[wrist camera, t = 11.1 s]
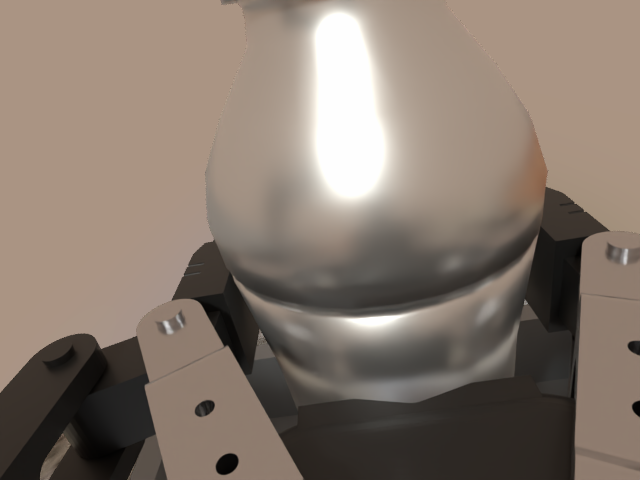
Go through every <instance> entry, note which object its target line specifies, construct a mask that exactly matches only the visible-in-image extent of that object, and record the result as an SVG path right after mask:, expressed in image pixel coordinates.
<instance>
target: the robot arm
mask: <svg viewBox="0 0 640 480" xmlns="http://www.w3.org/2000/svg"><path fill="white" fill-rule="evenodd" d="M188 266H189V267H187V269H186V271H185V273H184V277H182V279H181V281H180V284H179V286H178V288H177V290H176V292H175V294H174V296H173V298H172V301H170V302H167V303H164V304H162V305H160V306H158V307H156V308H154V309H153V310H152V311H150V312H149V313H147V314H146V315H145V316H144V317H143V318H142V320H141V321H140V322H139V324H138V326H137V329H136V332H137V336H136V337H133V338H131V339H128V340H125V341H123V342H120V343H117V344H114V345H111V346H109V347H106V348H103V349H101V348H100V346H99V345H98V343H97V341H96V339H95V338H94V337H93V336H92V335H89V334H75V335H70V336H67V337H64V338H62V339H59V340H57V341H55V342H53V343H51V344H49V345H48V346H46V347H45V348H43V349H42V350H40V351H39V352H38V353H36V354H35V355H34V356H33V357H32V358H31V359H30V360H29V361H28V363H27V364H26V365H25V366H24V367H23V368H22V369H21V370H20V371H19V373H18V374H17V375H16V376H15V377H14V378H13V379H12V380H11V381H10V383H9V384H8V385H7V386H6V387H5V388H4V389H3V391H2V392H1V393H0V480H40V471H41V467H42V464H43V462H44V460H45V458H46V457H47V455H48V454H49V452H50V451H51V449H52V448H53V446H54V445H55V443H56V442H57V440H58V439H59V437H60V436H61V434H62V433H63V434H64V435H65V436H66V438H67V439H68V441H69V442H70V444H71V446H70V448H69V449H68V451H67V452H66V454H65V455H64V457H63V459H62V460H61V462H60V463H59V465H58V466H57V468H56V469H55V471H54V473H53V474H52V476H51V477H50V479H49V480H127V479H128V477H129V475H130V473H131V470H132V468H133V466H134V464H135V462H136V460H137V458H138V456H139V454H140V452H141V450H142V448H143V445H144V443H145V440H146V438H149V437H151V436H153V435H156V436H157V440H158V444H159V448H160V452H161V456H162V460H163V464H164V468H165V472H166V476H167V480H640V234H637V233H632V232H624V231H609V230H608V229H607V228H606V227H604V226H603V225H602V224H601V223H599V222H598V221H597V220H596V219H594V218H593V217H592V216H591V215H590V214H588V213H587V212H584V210H583V209H582V208H581V207H580V206H578V205H577V204H574V202H573V201H572V200H571V199H570V198H568V197H567V196H566V195H565V194H563V193H561V192H559V191H556V190H553V189H550V188H547V187H546V188H545V197H544V207H543V216H542V221H541V226H540V231H539V233H538V238H537V243H536V248H535V252H534V257H533V262H532V267H531V271H530V276H529V281H528V286H527V290H526V295H525V300H526V301H527V303H528V304H529V305H530V307H531V308H532V310H533V311H534V313H535V314H536V316H537V317H538V319H539V320H540V321H541V323H542V324H543V326H544V327H545V329H546V330H547V332H548V333H552V332H559V331H566V330H569V331H570V332H571V334H572V340H571V349H570V364H569V379H568V394H567V397H566V396H560V395H554V394H547V393H541V392H540V391H539V389H538V387H537V385H536V384H535V382H534V380H533V378H532V376H531V375H525V376H517V377H510V378H503V379H495V380H488V381H480V382H473V383H469V384H467V385H464V386H461V387H459V388H456V389H453V390H450V391H448V392H445V393H442V394H439V395H437V396H434V397H431V398H429V399H426V400H423V401H420V402H416V403H403V402H390V401H377V400H364V399H348V400H340V401H333V402H325V403H318V404H311V405H303V406H298V423H297V425H296V426H293V427H291V428H288V429H286V430H284V431H282V432H280V433H277V431H276V430H275V428H274V426H273V424H272V422H271V421H270V419H269V417H268V415H267V414H266V412H265V410H264V408H263V407H262V405H261V403H260V401H259V399H258V398H257V396H256V394H255V392H254V391H253V389H252V387H251V385H250V383H249V382H248V380H247V378H246V376H245V375H250V374H252V369H253V364H254V358H255V352H256V346H257V340H258V334H259V326H258V324H257V322H256V321H255V319H254V317H253V315H252V313H251V311H250V309H249V308H248V306H247V304H246V302H245V300H244V298H243V296H242V295H241V293H240V291H239V289H238V287H237V285H236V284H235V282H234V279H233V276H232V274H231V272H230V271H229V270H228V269H227V268H226V265H225V263H224V260H223V258H222V256H221V253H220V251H219V248H218V246H217V244H216V242H215V240H214V241H213V242H208V243H205V244H204V245H203V246H202V247H200V248H199V249H198V250H197V251H196V252H195V253H194V254H193V256H192V258H191V260H190V262H189V265H188Z"/></svg>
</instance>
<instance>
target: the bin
mask: <svg viewBox="0 0 640 480" xmlns="http://www.w3.org/2000/svg"><path fill="white" fill-rule="evenodd" d="M571 340H572V334H571V332H570V331H569V330H566V331H559V332H552V333H548V332H547V330H546V329H545V327H544V326H543V324H542V323H541V321H540V320H539V319H538V317H537V316H536V314H535V313H534V311H533V310H532V308H531V307H530V305H523V309H522V314H521V319H520V324H519V328H518V333H517V345H516V359H515V372H514V377H517V376H525V375H531V376H532V378H533V380H534V382H535V384H536V385H537V387H538V389H539V391H540V392H541V393H547V394H554V395H560V396H566V397H567V394H568V379H569V364H570V349H571ZM245 376H246V378H247V380H248V382H249V383H250V385H251V387H252V389H253V391H254V392H255V394H256V396H257V398H258V399H259V401H260V403H261V405H262V407H263V408H264V410H265V412H266V414H267V415H268V417H269V419H270V421H271V422H272V424H273V426H274V428H275V430H276V431H277V433H280V432H282V431H284V430H286V429H288V428H291V427H293V426H296V425H297V423H298V410H297V408H296V405H295V403H294V400H293V397H292V395H291V392H290V390H289V387H288V385H287V382H286V380H285V377H284V375H283V372H282V369H281V367H280V365H279V363H278V361H277V360H276V358H275V356H274V354H273V352H272V350H271V348H270V347H269V345H268V343H267V344H261V345H257V346H256V352H255V358H254V364H253V369H252V374H250V375H245ZM130 480H167V476H166V472H165V468H164V464H163V460H162V456H161V452H160V448H159V444H158V440H157V436H156V435H153V436H151V437H149V438H146V440H145V443H144V445H143V448H142V450H141V452H140V454H139V457H138V459H137V462H136V465H135V467H134V470H133V473H132V475H131V478H130Z"/></svg>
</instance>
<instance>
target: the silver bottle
mask: <svg viewBox="0 0 640 480" xmlns="http://www.w3.org/2000/svg"><path fill="white" fill-rule="evenodd" d="M221 3H222V5H227V4H234V3H238V5H239V6H240V7H241V8H242V10H243V14H244V18H245V29H246V41H247V48H246V50H245V53H244V55H243V58H242V61H241V64H240V66H239V68H238V71H237V74H236V76H235V79H234V82H233V84H232V87H231V90H230V92H229V95H228V98H227V100H226V103H225V106H224V108H223V111H222V113H221V116H220V119H219V123H218V127H217V130H216V134H215V138H214V141H213V146H212V149H211V153H210V157H209V160H208V164H207V168H206V172H205V180H206V205H207V206H206V209H207V220H208V224H209V228H210V231H211V233H212V235H213V237H214V240H215V242H216V244H217V246H218V248H219V251H220V253H221V256H222V258H223V260H224V263H225V265H226V268H227V269H228V270H229V271H230V272H231V274H232V276H233V279H234V282H235V284H236V285H237V287H238V289H239V291H240V293H241V295H242V296H243V298H244V300H245V302H246V304H247V306H248V308H249V309H250V311H251V313H252V315H253V317H254V319H255V321H256V322H257V324H258V326H259V328H260V330H261V332H262V334H263V335H264V337H265V339H266V341H267V343H268V345H269V347H270V348H271V350H272V352H273V354H274V356H275V358H276V360H277V361H278V363H279V365H280V367H281V369H282V372H283V375H284V377H285V380H286V382H287V385H288V387H289V390H290V392H291V395H292V397H293V400H294V403H295V405H296V408H297V410H298V406H303V405H311V404H318V403H325V402H333V401H340V400H348V399H364V400H377V401H390V402H403V403H416V402H420V401H423V400H426V399H429V398H431V397H434V396H437V395H439V394H442V393H445V392H448V391H450V390H453V389H456V388H459V387H461V386H464V385H467V384H469V383H473V382H480V381H488V380H495V379H503V378H510V377H514V372H515V359H516V345H517V333H518V328H519V324H520V319H521V314H522V309H523V305H524V300H525V295H526V290H527V286H528V281H529V276H530V271H531V267H532V262H533V257H534V252H535V248H536V243H537V238H538V233H539V231H540V226H541V221H542V216H543V207H544V197H545V188H546V180H547V173H548V171H547V167H546V164H545V161H544V158H543V155H542V151H541V148H540V145H539V142H538V138H537V135H536V132H535V129H534V125H533V123H532V120H531V117H530V115H529V112H528V111H527V109H526V108H525V107H524V105H523V103H522V102H521V100H520V99H519V97H518V96H517V94H516V93H515V91H514V90H513V88H512V87H511V85H510V84H509V82H508V80H507V79H506V77H505V76H504V74H503V73H502V71H501V70H500V69H499V67H498V65H497V64H496V63H495V62H494V60H493V59H492V58H491V57H490V56H489V54H488V53H487V52H486V51H485V50H484V48H483V47H482V46H481V45H480V44H479V42H478V41H477V40H476V39H475V38H474V36H473V35H472V34H471V33H470V32H469V31H468V29H467V28H466V27H465V26H464V25H463V23H462V22H461V21H460V20H459V19H458V17H457V16H456V15H455V14H454V13H453V12H452V11H451V9H450V8H449V7H448V6H447V4H446V0H221Z"/></svg>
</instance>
